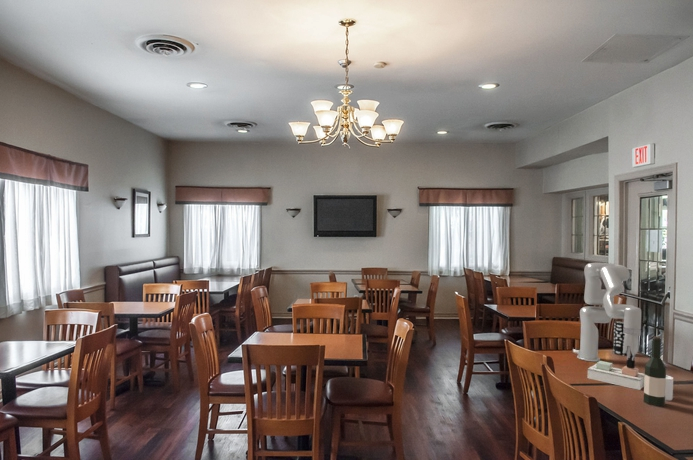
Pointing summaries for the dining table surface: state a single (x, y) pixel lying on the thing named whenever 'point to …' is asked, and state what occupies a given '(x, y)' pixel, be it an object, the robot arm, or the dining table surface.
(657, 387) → the wine bottle
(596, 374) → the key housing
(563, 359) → the dining table surface
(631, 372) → the terracotta key
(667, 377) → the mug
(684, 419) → the dining table surface
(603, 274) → the robot arm
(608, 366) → the sage key
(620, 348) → the spotted tube
